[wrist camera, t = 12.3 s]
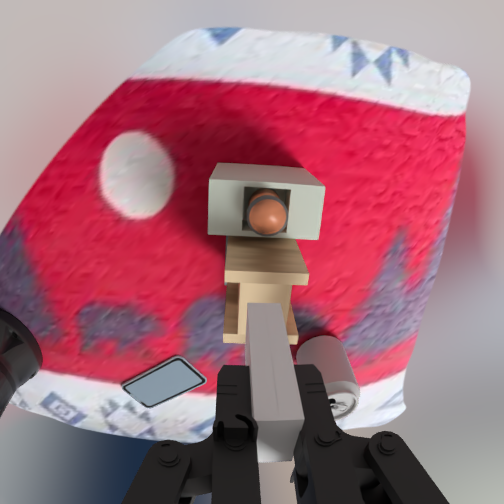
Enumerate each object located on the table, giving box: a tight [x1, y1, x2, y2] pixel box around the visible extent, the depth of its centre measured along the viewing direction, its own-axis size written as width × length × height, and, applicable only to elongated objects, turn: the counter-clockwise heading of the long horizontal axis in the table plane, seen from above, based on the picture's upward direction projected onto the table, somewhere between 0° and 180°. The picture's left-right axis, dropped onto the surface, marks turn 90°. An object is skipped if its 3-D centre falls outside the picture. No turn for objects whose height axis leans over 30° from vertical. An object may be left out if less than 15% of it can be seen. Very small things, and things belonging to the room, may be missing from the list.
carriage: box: [223, 235, 309, 344], centre depth 32 cm, size 7×7×14 cm
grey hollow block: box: [208, 163, 325, 240], centre depth 33 cm, size 10×5×10 cm, turn 86°
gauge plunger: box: [247, 188, 288, 237], centre depth 28 cm, size 3×3×4 cm
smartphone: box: [122, 355, 207, 408], centre depth 50 cm, size 7×1×15 cm
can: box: [296, 336, 360, 421], centre depth 42 cm, size 8×8×12 cm
